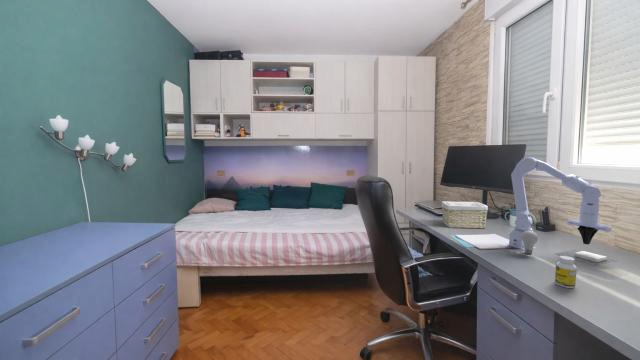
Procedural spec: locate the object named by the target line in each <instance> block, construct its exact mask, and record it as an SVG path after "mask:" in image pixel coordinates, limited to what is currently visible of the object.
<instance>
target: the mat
mask: <svg viewBox="0 0 640 360" xmlns="http://www.w3.org/2000/svg"><path fill="white" fill-rule="evenodd" d="M581 251H582V250H579V249H571V250H565V251H560V252H556V253H554V255H557V256H568V257H572V258H574V259H575V261H577V262H582V263H585V264H588V265H591V266H601V265H606V264H610V263H614V262H618V260H617V259H613V258H610V257H607V260H605V261H601V262H593V261H589V260H586V259H582V258H579V257H575V256H574V253H576V252H581Z"/></svg>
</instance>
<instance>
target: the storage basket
mask: <svg viewBox="0 0 640 360" xmlns="http://www.w3.org/2000/svg"><path fill="white" fill-rule="evenodd" d="M488 207H489V206H488V205H486V204H484V203H481V202H478V201H446V200H443V201H441V210H442V222H443V224H444V225H445V226H446V227H447V228H452V229H455V228H459V229H486V224H487V215H488V210H489V208H488Z"/></svg>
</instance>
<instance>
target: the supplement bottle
mask: <svg viewBox="0 0 640 360" xmlns="http://www.w3.org/2000/svg"><path fill="white" fill-rule="evenodd" d="M558 257H559V258H558V262H556V265H555V276H554V283H555V284H556V285H558V286H559V287H563V288H567V289H574V288H575V287H576V282H577V271H578V270H577V269H578V267H577V266H576V265H575V262H576V260H575V259H574V258H572V257H568V256H560V255H558Z"/></svg>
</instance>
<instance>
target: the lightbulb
mask: <svg viewBox="0 0 640 360" xmlns="http://www.w3.org/2000/svg"><path fill="white" fill-rule="evenodd" d="M521 238H522V240H523V242H524V245H525V251H524V253H525V254H528V255H532V254H533V250H534V248H535V245H536V244H537V243H538V240H539V235H538V234H537V233H536V232H535V231H525V232H523V233H522V235H521ZM533 247H534V248H533Z"/></svg>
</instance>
